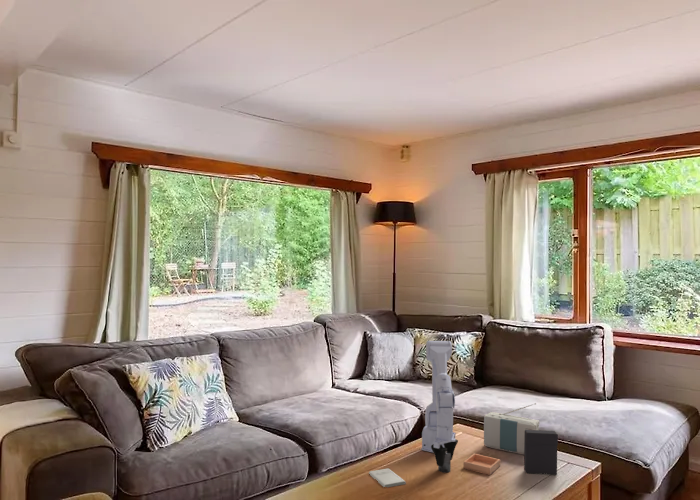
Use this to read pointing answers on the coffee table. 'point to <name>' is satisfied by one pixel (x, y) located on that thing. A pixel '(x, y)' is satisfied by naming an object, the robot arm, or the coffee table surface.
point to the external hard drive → (387, 478)
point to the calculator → (540, 452)
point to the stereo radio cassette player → (507, 431)
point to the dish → (482, 464)
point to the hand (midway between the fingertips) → (444, 462)
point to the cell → (446, 463)
